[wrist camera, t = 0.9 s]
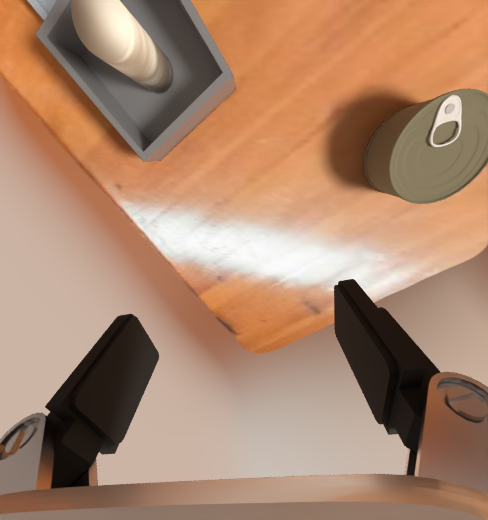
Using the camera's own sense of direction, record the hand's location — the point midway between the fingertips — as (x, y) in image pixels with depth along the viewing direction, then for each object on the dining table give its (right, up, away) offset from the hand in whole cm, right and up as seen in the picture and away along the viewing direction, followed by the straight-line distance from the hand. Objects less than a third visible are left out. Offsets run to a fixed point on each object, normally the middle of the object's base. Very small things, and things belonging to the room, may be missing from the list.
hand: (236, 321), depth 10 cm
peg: (-11, +27, +16) cm, 33 cm away
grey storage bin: (-11, +27, +17) cm, 34 cm away
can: (+24, +19, +21) cm, 37 cm away
